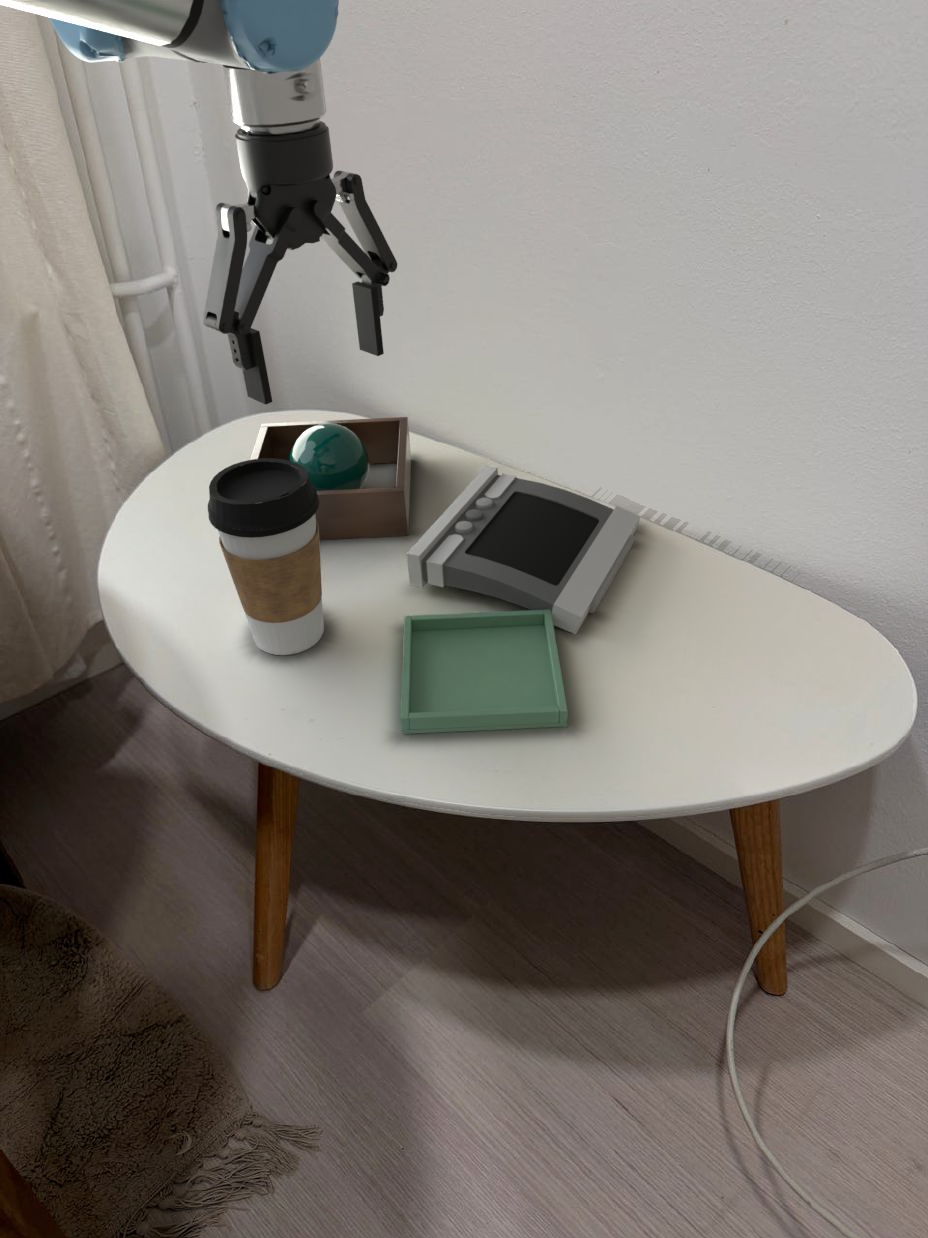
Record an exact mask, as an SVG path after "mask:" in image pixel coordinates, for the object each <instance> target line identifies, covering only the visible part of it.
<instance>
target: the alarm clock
mask: <svg viewBox="0 0 928 1238" xmlns="http://www.w3.org/2000/svg"><path fill="white" fill-rule="evenodd" d="M640 520H641V515H639V514H637V513H634V512H631V511H630V510H627V509H625V508H622V507H620V506H618V505H615V507H614V508H612V507H609V506H606V505H604V504H602V503H600V502H597V501H596V500H593V499H590V498H588V497H585V496H583V495H580V494H577V493H575V492H572V491H569V490H566V489H564V488H560V487H556V486H553V485H550V484H547V483H542V482H539V481H533V480H529V479H524V478H519V477H517V475H515V474H509V473H501V474H499V468H498V467H497V466H492V465H485V466H484V468H482V470H481V471H480V472H478V474H477V475H476V476H475V477H474V479H472V481H471V482H470V483H469V484H467V486H466V487H465V489H463V491H462V492H461V493H460V494H459V495H458V496H457V497H456V499H454V501H452V503H451V504H450V505H449V506H447V508H446V510H444V512H443V513H442V514H441V515H440V516H439V517H438V518H437V520H435V522H434V523H433V524H432V525H431V526H430V527H428V529H427V530H426V531H425V533H424V534H423V535H422V536H421V537H420V538H419V539H418V540H417V541H416V542H415V544H414V545H412V547H411V548H410V549H409V550H408V551H407V552H406V561H407V569H408V578H409V586H410V587H413V588H418V589H424V587H426V585H427V584H428V585H431V586H435V587H440V588H444V587H445V586H448V587H452V588H457V589H462V590H464V591H465V590H466V591H471V592H474V593H478V594H482V595H486V596H489V597H493V598H497V599H500V600H503V601H505V602H508V603H511V604H514V605H516V606H519V607H523V608H526V609H527V610H547V609H548V610H551V614H552V620H553V626H554V627H557V628H560V629H561V630H564V631H566V632H568V633H571V634H573V635H577V633H578V631H579V630H580V628H581V626H582V625H583V623H584V621H585V619H586V617H587V616H588V615H589V614H594V613H595V612H596V611H597V609H598V607H599V605H600V604H601V602H602V600H603V598H604V597H605V595H606V593H607V591H608V589H609V587H610V586H611V584H612V583H613V581H614V580H615V578H616V576H617V574H618V572H619V570H620V568H621V567H622V565H623V564H624V561H625V560H626V558H627V556H628V554H629V553H630V551H631V549H632V547H633V544H634V542H635V540H636V537H635V535H634V534H635V532H636V530H637V528H638V525H639V523H640Z"/></svg>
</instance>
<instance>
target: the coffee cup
mask: <svg viewBox="0 0 928 1238" xmlns="http://www.w3.org/2000/svg"><path fill="white" fill-rule="evenodd" d="M208 492H209V493H208V494H209V499H208V502H207V512H208V520H209V523H210V524H211V525H212V526H213V527H214V529H216V530H217V532H218V535H219V536H218V541H219V542H218V543H219V546H220V549H221V551H222V554H223V557H224V560H225V562H226V563H225V564H226V565H227V568H228V571H229V574H230V576H231V578H232V582H233V584H234V587H235V590H236V593H237V596H238V598H239V601H240V603H241V607H242V609H243V611H244V614H245V616H246V620H247V624H248V626H249V629H250V632H251V636H252V638H253V641H254V643H255V645H256V646H257V647H258V649H260V650H261V651H263V652H265V653H267V654H271V655H276V656H290V655H295V654H299V653H302V652H304V651H307V650H309V649H310V648H312V647H314V646H315V645H316V644H317V643H318V642H319V641H320V639H321V638H322V637H323V634H324V630H325V624H324V623H325V622H324V609H323V588H322V587H323V586H322V566H321V565H322V564H321V545H320V544H321V543H320V542H321V540H319V526H318V522H317V520H316V517H315V513H316V511H317V509H318V508H319V497H318V495H317V491H316V489H315V487H314V486H313V485H312V483H311V480H310V477H309V473H308V471H307V470H306V469H305V468H304V467H303V466H301V465H299V464H297V463H295V462H291V461H288V460H283V459H273V458H262V459H253V460H250V459H248V460H247V459H246V460H243V461H240V462H237V463H233V464H231V465H229V466H227V467H225V468H223V469H222V470H220V471H218V472H217V473H216V474H215V475H214V476H213V477H212V478H211V480H210V482H209V485H208Z"/></svg>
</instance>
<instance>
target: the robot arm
mask: <svg viewBox="0 0 928 1238" xmlns="http://www.w3.org/2000/svg"><path fill="white" fill-rule="evenodd" d="M339 4H340V0H0V6H3V7H7V8H11V9H15V10H18V11H23V12H26V13H30V14H34V15H38V16H42V17H47V18H49V21H50V22H51V25H52V27H53V30H54V31H55V33H56V34H57V36H58V38H59V39H60V41H61V42H62V44H63V45H64V46H65V48H66V49H67V50H68V51H69V52H70V53H71V54H72V55H73V56H74V57H76V58H77V59H79V60H81V61H84V62H87V63H100V62H112V61H114V62H116V63H124V62H125V60H129V59H135V58H142V57H143V58H144V57H156V58H164V59H170V60H177V61H185V62H192V63H193V62H194V63H203V64H206V63H209V64H215V65H221V66H222V69H223V76H224V77H223V78H224V82H225V88H226V89H225V90H226V94H227V95H226V96H227V101H228V107H229V111H230V119H231V121H233V123H234V124H237V125H238V126H240V128H238V129H237V131H236V133H235V135H234V138H235V139H234V140H235V143H236V149H237V155H238V161H239V168H240V171H241V176H242V178H243V180H244V183H245V185H246V188H247V199H246V203H240V204H230V203H225V202H219V203H217V204H216V206H215V219H216V220H215V221H216V228H217V230H216V231H217V236H216V242H215V248H214V253H213V259H212V264H211V270H210V276H209V280H208V287H207V293H206V298H205V304H204V309H203V315H202V316H203V317H202V324H203V326H204V327H206V328H208V329H210V330H213V331H215V332H218V333H220V334H223V335H227V339H228V343H229V349H230V353H231V358H232V362H233V363H234V365H235V367H237V368H239V369H241V370H242V374H243V379H244V384H245V389H246V394H247V395H246V396H247V397H248V398H250V399H252V400H254V401H256V402H259V403H261V404H263V405H269V404H271V403H273V397H272V392H271V385H270V381H269V377H268V376H269V375H268V370H267V364H266V360H265V354H264V347H263V343H262V338H261V332H260V330H257V329H256V328H252V326H253V323H254V321H255V319H256V316H257V314H258V311H259V309H260V307H261V304H262V303H263V299H264V297H265V294H266V292H267V290H268V287H269V284H270V282H271V280H272V277H273V275H274V272H275V270H276V267H277V265H278V263H279V262H281V261H282V260H283V259H284V257H285V255H286V252H287V250H289V251H295V250H296V249H300V248H301V247H302V246H304V245H305V244H315V243H319V242H321V240H322V241H323V242H324V243H325V244H326V245H327V247H329V248H330V249H331V250H332V251H333V252H334V254H335V255H336V256H337V257H338V258H339V259H340V260H341V261H342V262H343V263H344V264H345V265H346V266H347V267H348V268H349V269H350V270H351V272H353V274H354V275H355V276H356V277H357V278H358V279H359V280H361V281H358V280H357V281H355V282H352V283H351V287H352V296H353V297H352V298H353V303H354V304H353V305H354V312H355V313H354V315H355V323H356V329H357V339H358V346H359V350H360V351H362V352H364V353H368V354H371V355H373V356H376V357H380V356H382V355H384V354H385V353H384V343H383V334H382V324H381V317H382V316H384V313H385V312H384V311H385V308H384V307H385V306H384V296H383V287H386V286H388V285H389V283H390V275H389V273H394V272H396V270H397V269H398V261H397V258H396V257H395V255H394V253H393V251H392V250H391V247H390V246H389V243H388V242H387V239H386V237H385V236H384V233H383V231H382V229H381V227H380V225H379V224H378V221H377V220H376V217H375V215H374V213H373V212H372V210H371V208H370V206H369V204H368V202H367V200H366V195H365V190H364V185H363V180H362V176H361V175H360V174H358V173H355V172H348V171H343V170H336V171H335V172H334V174H333V177H332V178H331V173H332V172H333V169H334V162H333V153H332V145H331V144H332V143H331V136H330V129H329V126H327V124H326V122H324V121H321V119H322V118H323V117H324V116H325V115H326V113H327V105H326V96H325V88H324V82H323V72H322V64H321V58H322V56H323V55H324V54H325V53H326V51H327V50H328V48H329V46H330V44H331V42H332V40H333V38H334V35H335V33H336V30H337V29H336V28H337V25H338V24H337V23H338V16H339ZM336 201H337V202H338V204H339V207H340V208H341V210H342V213H343V214H344V217H345V218H346V220H347V222H348V223H349V226H350V228H351V229H352V232H353V233H354V235H355V237H356V239H357V240H358V242H359V244H360V245H358V243H356V241H355V240H354V239H353V238H352V237H351V236H350V235H349V234H348V232H347V231H346V227H345V226H344V225H343V224H342V223H341V222H340V220H339V219H338V218H336V216H335V215H334V214H333V213H332V210H333V208H334V205H335V202H336ZM251 222H253V224H254V225H255V226H254V229H253V232H252V235H251V237H250V238H249V242H248V232H251V231H252V226H253V225H252V224H251ZM267 241H269V242H270V243H269V244H268V243H267ZM247 245H248V248H249V252H248V254H247V256H246V252H247ZM360 246H361V247H360ZM245 256H246V259H245Z"/></svg>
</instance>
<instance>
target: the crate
mask: <svg viewBox="0 0 928 1238" xmlns="http://www.w3.org/2000/svg"><path fill="white" fill-rule="evenodd" d="M325 423H332V424H337V425H341V426H344V427H346V428H348V429H350V430H351V431H352V432H354V433H355V434H356V435H357V436H358V437H359V438H360V439H361V440H362V442H363V444H364V445H365V448H366V450H367V454H368V458H369V465H372V464H373V465H374V464H375V465H376V464H395V463H397V464H396V480H395V481H396V482H395V487H375V488H361V489H351V490H329V491H317V495H318V497H319V508H318V509H317V511H316V513H315V517H316V520H317V522H318V526H319V540H320V541H325V540H345V539H346V540H347V539H365V538H366V539H368V538H369V539H370V538H388V537H389V538H390V537H391V538H392V537H408V536H409V526H410V525H409V521H410V496H411V494H410V493H411V472H412V470H411V469H412V468H411V466H412V454H411V452H412V451H411V442H410V441H411V440H410V429H409V428H410V427H409V418H408V416H399V417H397V416H396V417H379V418H378V417H377V418H375V417H374V418H358V419H357V418H356V419H355V418H354V419H335V420H334V419H333V420H332V419H331V420H313V421H312V420H311V421H291V422H289V421H288V422H269V423H261V425H260V428H259V432H258V435H257V437H256V440H255V444H254V447H253V450H252V453H251V456H250V459H249V460H253V459H262V458H273V459H283V460H288V461H289V458H290V453H291V449H292V447H293V445H294V443H295V441H296V440H297V438H298V437H299V436H300V435H301V434H302V433H303V432H305V431H306V430H307V429H309V428H311V427H313V426H315V425H319V424H325Z"/></svg>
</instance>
